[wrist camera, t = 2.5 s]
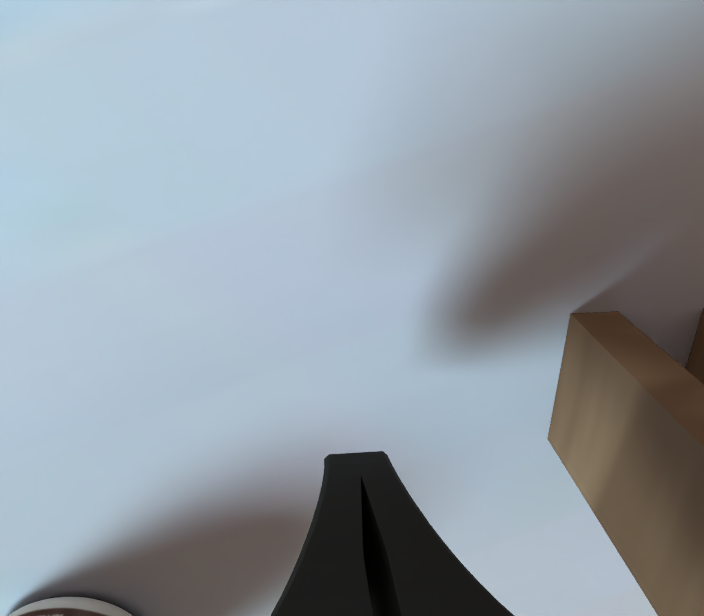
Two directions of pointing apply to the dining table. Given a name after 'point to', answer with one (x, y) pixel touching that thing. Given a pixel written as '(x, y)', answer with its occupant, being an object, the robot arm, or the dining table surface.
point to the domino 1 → (636, 453)
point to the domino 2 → (697, 353)
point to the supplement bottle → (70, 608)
